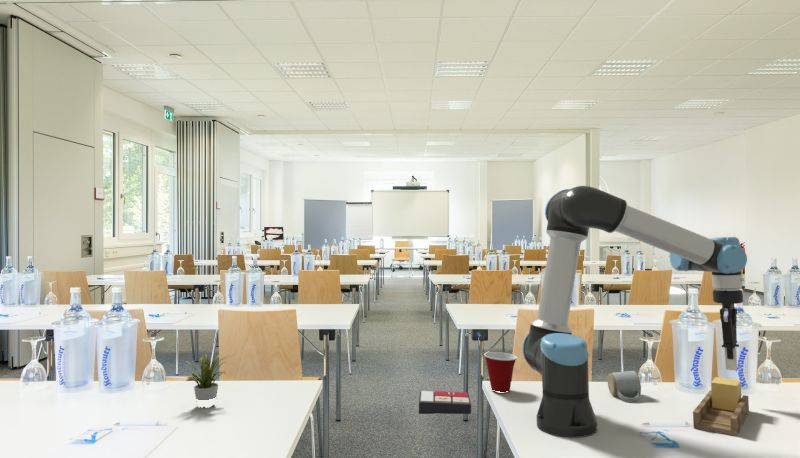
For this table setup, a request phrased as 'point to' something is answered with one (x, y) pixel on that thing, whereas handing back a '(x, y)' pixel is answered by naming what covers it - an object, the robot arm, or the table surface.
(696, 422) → the walnut chute
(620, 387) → the ceramic mug
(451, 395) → the black red white box
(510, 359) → the plastic cup
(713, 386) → the mustard block
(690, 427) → the table surface
